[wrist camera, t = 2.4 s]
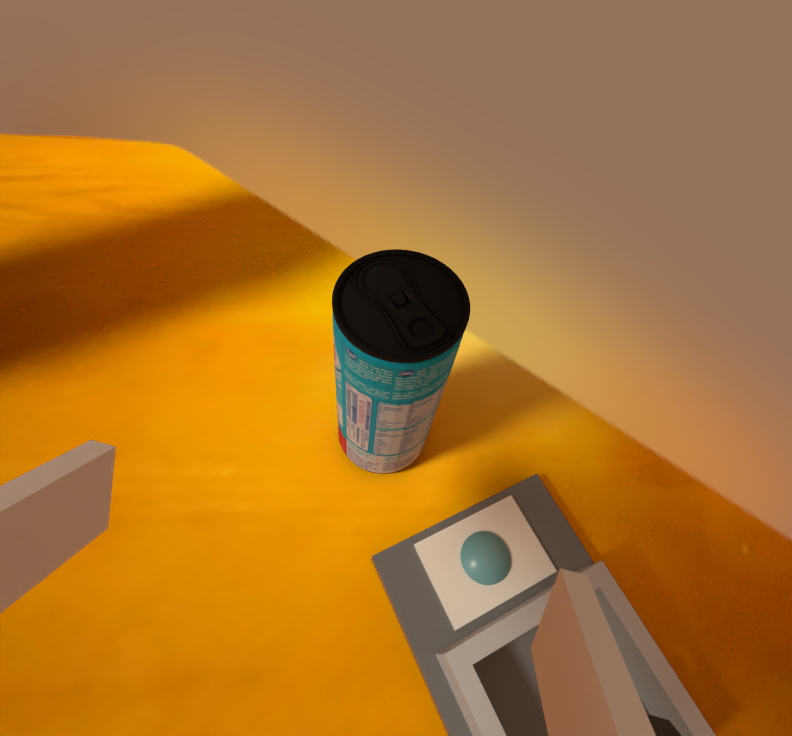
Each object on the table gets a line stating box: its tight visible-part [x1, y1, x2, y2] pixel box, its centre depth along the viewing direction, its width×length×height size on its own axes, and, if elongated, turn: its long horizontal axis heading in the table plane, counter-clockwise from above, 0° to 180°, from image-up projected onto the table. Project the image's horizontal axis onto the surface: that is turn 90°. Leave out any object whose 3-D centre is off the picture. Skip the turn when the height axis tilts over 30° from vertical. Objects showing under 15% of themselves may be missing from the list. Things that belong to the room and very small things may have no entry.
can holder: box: [372, 474, 716, 736], centre depth 25 cm, size 18×12×4 cm, turn 26°
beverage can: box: [332, 250, 470, 474], centre depth 27 cm, size 6×6×15 cm
